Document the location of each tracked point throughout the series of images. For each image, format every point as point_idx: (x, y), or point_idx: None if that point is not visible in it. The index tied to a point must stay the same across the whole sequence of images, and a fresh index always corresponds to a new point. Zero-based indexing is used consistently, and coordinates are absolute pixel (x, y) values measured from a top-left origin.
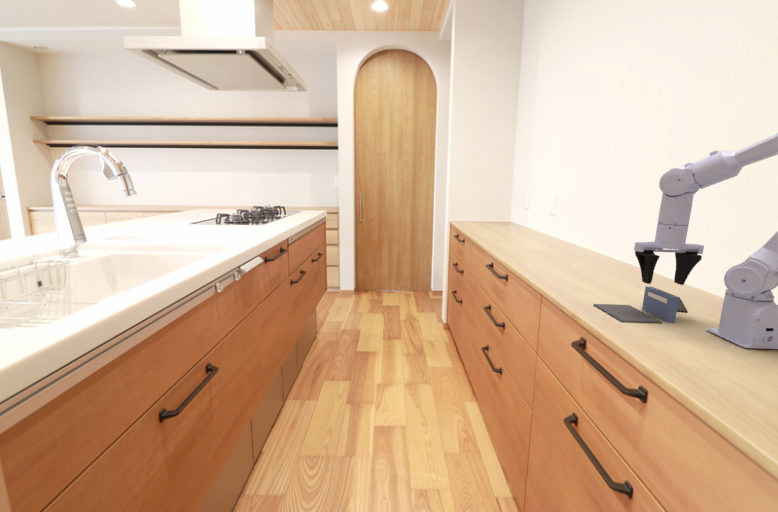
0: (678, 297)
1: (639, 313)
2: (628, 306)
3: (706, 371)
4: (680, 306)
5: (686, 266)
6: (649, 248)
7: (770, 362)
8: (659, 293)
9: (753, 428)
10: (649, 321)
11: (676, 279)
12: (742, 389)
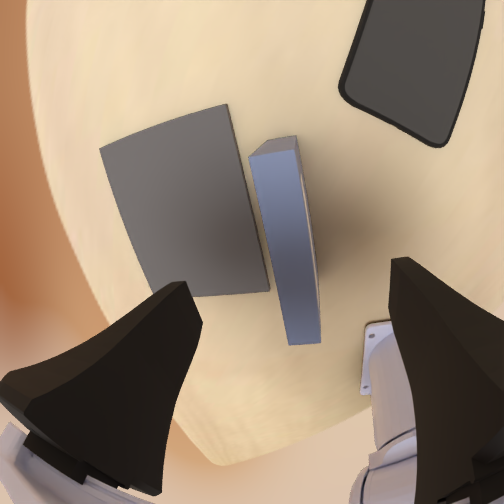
0: (318, 342)
1: (225, 222)
2: (213, 132)
3: (235, 431)
4: (453, 84)
5: (418, 419)
6: (76, 493)
7: (352, 415)
8: (275, 275)
9: (223, 461)
10: (229, 294)
11: (396, 286)
12: (251, 447)
